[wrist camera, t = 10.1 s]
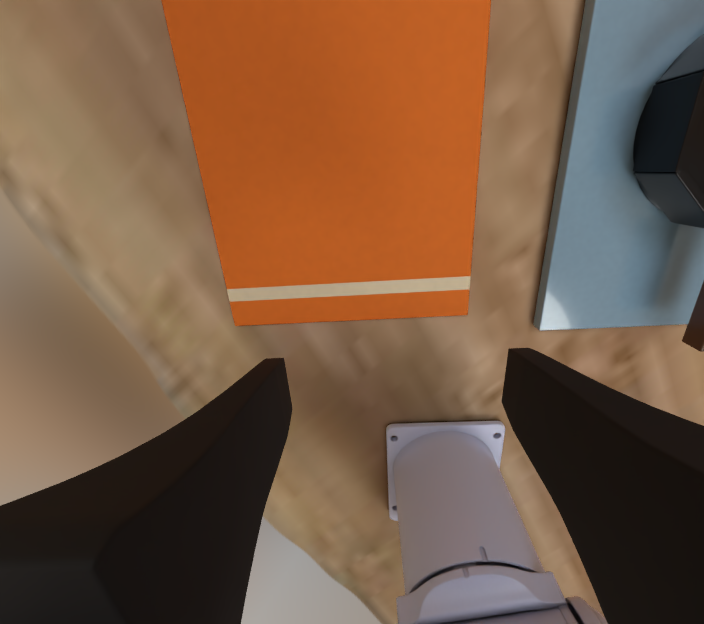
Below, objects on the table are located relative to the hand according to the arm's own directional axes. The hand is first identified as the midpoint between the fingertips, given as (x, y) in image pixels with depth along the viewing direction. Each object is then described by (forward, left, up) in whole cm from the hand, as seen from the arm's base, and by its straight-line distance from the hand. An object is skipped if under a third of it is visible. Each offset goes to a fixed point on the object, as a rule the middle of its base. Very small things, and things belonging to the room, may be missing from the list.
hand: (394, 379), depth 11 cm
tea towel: (+8, +2, -9) cm, 13 cm away
